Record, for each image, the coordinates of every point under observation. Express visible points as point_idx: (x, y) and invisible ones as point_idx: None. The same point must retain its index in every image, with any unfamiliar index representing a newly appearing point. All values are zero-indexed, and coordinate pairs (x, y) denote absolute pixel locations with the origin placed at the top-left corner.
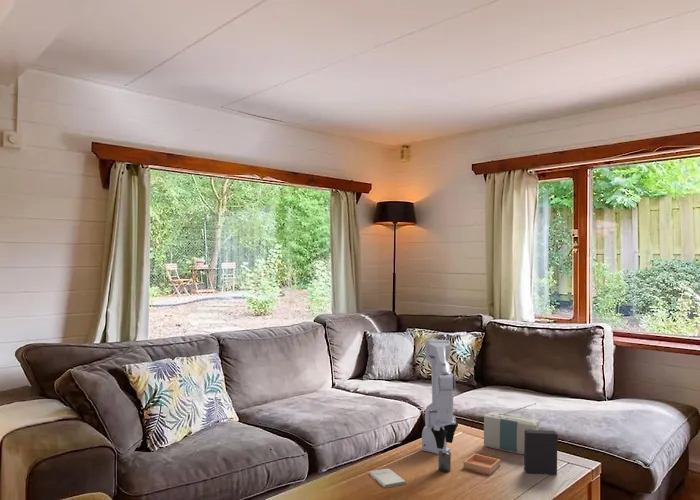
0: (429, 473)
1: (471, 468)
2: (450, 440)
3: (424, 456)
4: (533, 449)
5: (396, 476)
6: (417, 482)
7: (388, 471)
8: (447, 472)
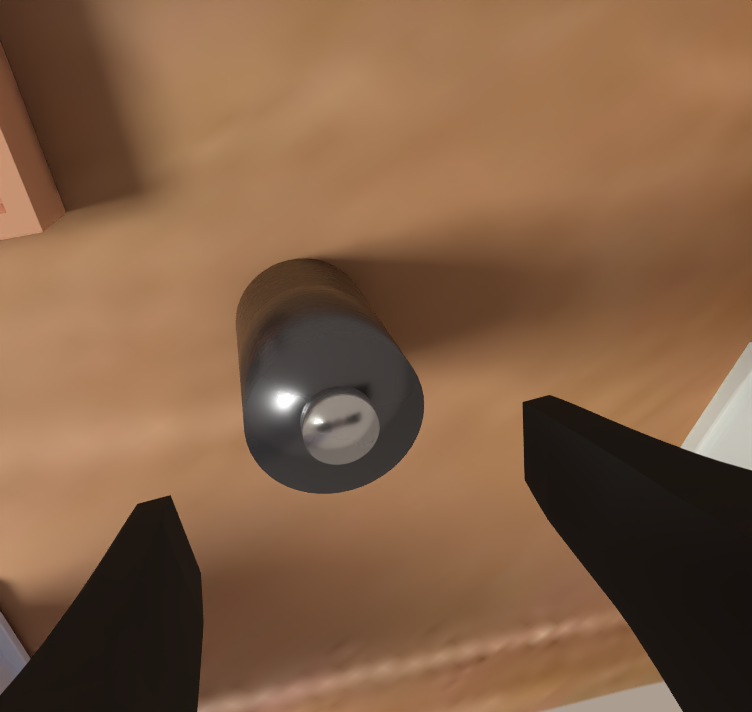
0: (466, 362)
1: (12, 94)
2: (170, 544)
3: None
4: None
5: (722, 448)
6: (685, 304)
7: None
8: (328, 264)
